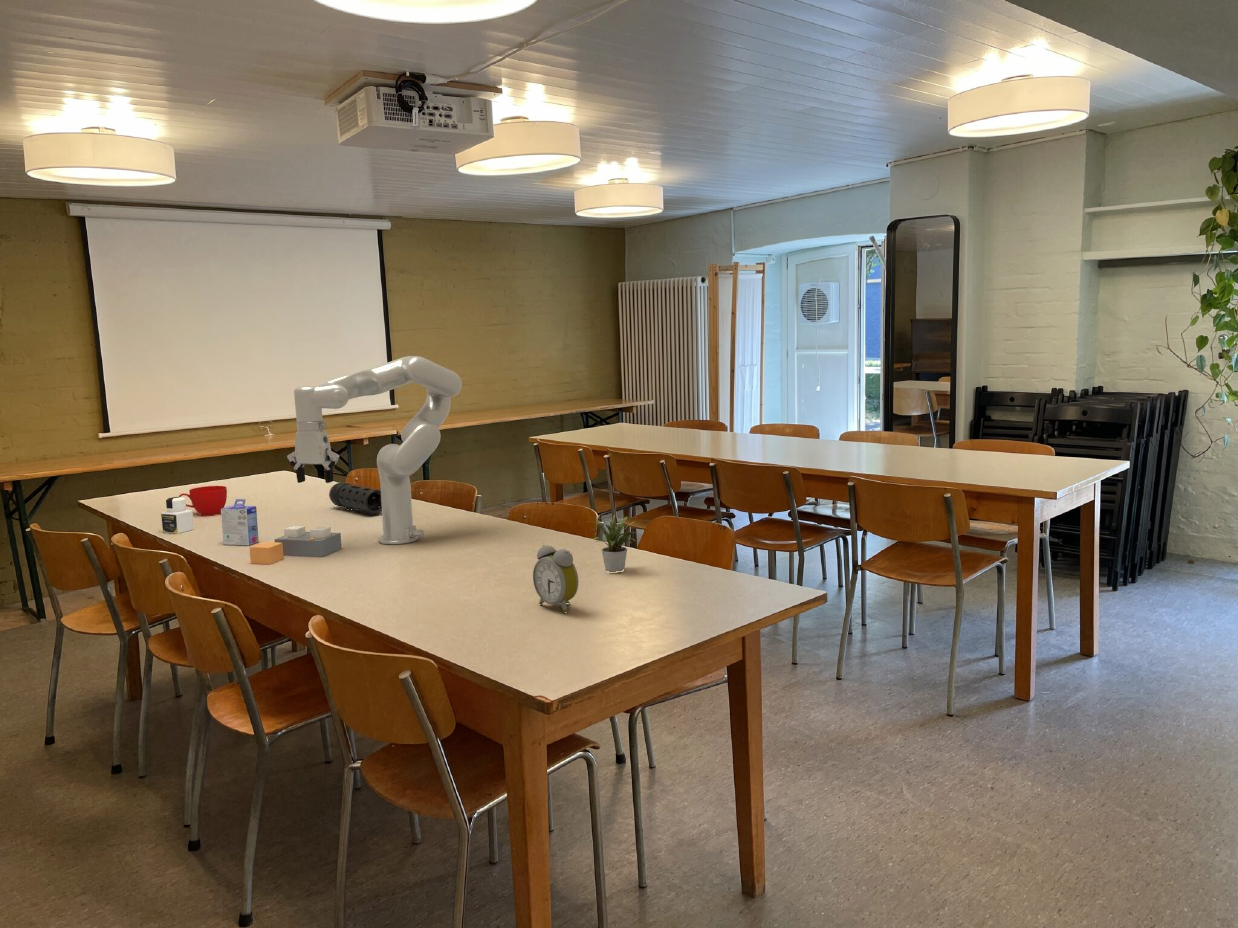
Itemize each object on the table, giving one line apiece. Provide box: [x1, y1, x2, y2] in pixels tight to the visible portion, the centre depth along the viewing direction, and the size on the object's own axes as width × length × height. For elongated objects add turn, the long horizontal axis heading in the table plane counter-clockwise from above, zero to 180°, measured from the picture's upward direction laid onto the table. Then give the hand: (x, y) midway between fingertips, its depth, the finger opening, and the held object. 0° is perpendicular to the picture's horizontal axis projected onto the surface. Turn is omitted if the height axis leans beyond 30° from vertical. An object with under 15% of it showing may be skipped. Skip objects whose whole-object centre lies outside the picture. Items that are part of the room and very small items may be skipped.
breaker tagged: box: [309, 526, 332, 539], centre depth 268 cm, size 4×4×4 cm
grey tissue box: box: [274, 531, 342, 558], centre depth 269 cm, size 16×11×6 cm
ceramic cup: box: [178, 485, 228, 517], centre depth 331 cm, size 13×17×10 cm
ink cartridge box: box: [220, 498, 260, 546], centre depth 281 cm, size 10×6×14 cm, turn 78°
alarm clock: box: [532, 544, 579, 613], centre depth 208 cm, size 12×7×15 cm, turn 45°
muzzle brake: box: [328, 481, 382, 517], centre depth 331 cm, size 10×28×10 cm, turn 47°
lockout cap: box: [249, 541, 285, 565], centre depth 259 cm, size 7×7×5 cm
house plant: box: [587, 513, 637, 572], centre depth 239 cm, size 14×14×16 cm
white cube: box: [283, 525, 306, 538], centre depth 270 cm, size 4×4×4 cm
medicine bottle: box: [160, 496, 195, 535], centre depth 302 cm, size 7×7×12 cm
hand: (315, 482), depth 265 cm, fingers open, 9 cm apart
